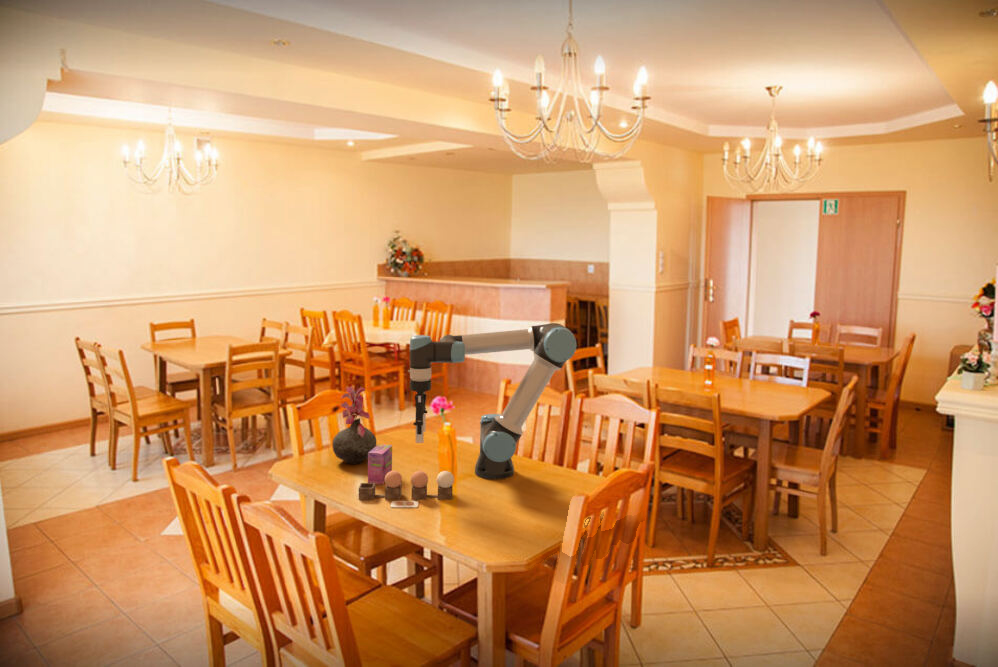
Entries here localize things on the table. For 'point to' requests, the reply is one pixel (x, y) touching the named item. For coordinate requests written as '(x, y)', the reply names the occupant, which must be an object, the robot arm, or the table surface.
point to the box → (379, 463)
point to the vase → (354, 432)
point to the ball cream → (445, 479)
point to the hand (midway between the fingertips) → (420, 436)
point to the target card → (404, 504)
